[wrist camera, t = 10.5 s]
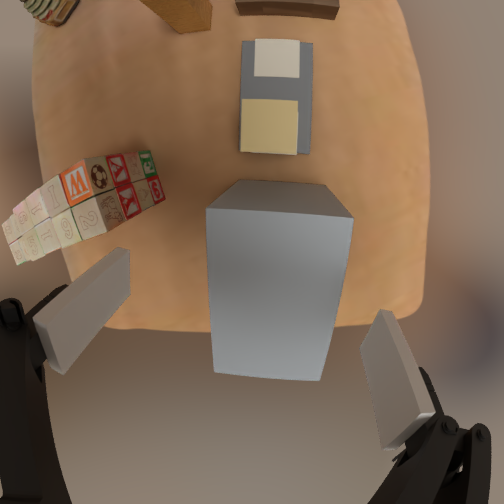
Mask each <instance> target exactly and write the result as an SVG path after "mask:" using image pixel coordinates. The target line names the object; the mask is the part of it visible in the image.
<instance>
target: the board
mask: <svg viewBox="0 0 504 504" xmlns="http://www.w3.org/2000/svg"><path fill="white" fill-rule="evenodd" d="M312 80H313V43H304V42H300V40H287V39H255V41H242V64H241V92H240V125H239V150H240V152H252V153H271V154H288V155H297V153H302V154H310V142H311V118H312Z"/></svg>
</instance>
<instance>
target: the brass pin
mask: <svg viewBox="0 0 504 504" xmlns="http://www.w3.org/2000/svg"><path fill="white" fill-rule="evenodd" d="M139 1H141V2H142V3H143V4H145V5H146V6H147V7H148V8H150V9H151V10H152V11H154V12H155V13H156V14H157V15H159V16H160V17H161V18H162V19H163V20H165V21H166V22H167V23H168V24H169V25H171V26H172V27H173V28H174V29H175V30H176V31H178V32H179V33H180V34H183V33H190V32H198V31H207V30H211V18H212V5H211V3H210V2H209V0H139Z"/></svg>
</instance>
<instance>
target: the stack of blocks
mask: <svg viewBox="0 0 504 504" xmlns="http://www.w3.org/2000/svg"><path fill="white" fill-rule="evenodd" d="M163 200H165V196H164V193H163V190H162V187H161V184H160V181H159V177H158V175H157V172H156V169H155V166H154V162H153V159H152V156H151V152H150V150H148V151H137V152H134V153H125V154H121V153H119V154H112V155H106V156H101V157H93V158H86V159H82V160H81V161H79V162H77V163H76V164H74V165H73V166H71V167H70V168H68V169H66V170H65V171H63V172H62V173H61V174H58V175H56V176H55V177H53V178H52V179H51V180H49V181H48V182H46V183H45V184H44V185H43V186H41V187H39V188H37V189H36V190H35V191H34V192H32V193H31V194H30V195H29V196H27V197H26V199H25V200H23V201H22V202H21V203H19V204H18V205H17V206H16V207H15V208H13V213H14V214H13V215H11V216H10V218H9V219H8V220H6V221H5V222H4V223H3V224H2V227H3V230H4V233H5V236H6V239H7V242H8V244H9V246H10V249H11V252H12V254H13V256H14V259H15V261H16V264H17V265H20V264H21V263H24V262H25V261H29V260H30V259H31V260H32V261H35V260H37V259H39V258H41V257H43V256H45V255H47V254H48V253H50V252H52V251H55V250H57V249H59V248H65V247H68V246H70V245H73V244H75V243H78V242H81V241H82V240H87V239H90V238H93V237H95V236H98V235H101V234H104V233H106V232H108V231H110V230H112V229H113V228H115V227H117V226H118V225H120V224H122V223H123V222H125V221H127V220H129V219H131V218H133V217H134V216H136V215H138V214H139V213H141V212H142V211H144V210H146V209H147V208H149V207H151V206H154V205H156V204H158V203H160V202H161V201H163Z"/></svg>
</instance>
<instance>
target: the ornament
mask: <svg viewBox="0 0 504 504" xmlns="http://www.w3.org/2000/svg"><path fill="white" fill-rule="evenodd" d="M20 1H21V2H24V8H26V9H27V10H28V12H30V13H32V15H33V18H36V19H38V20H39V21H40V22H42V23H47V24H48V25H51V26H59V25H60V24H62V23H64V22H66V20H67V19H68V17H69V15H70V14H71V12H72V11H73V10H74V8H75V7H76V5H77V4H78V2H79V0H20Z"/></svg>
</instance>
